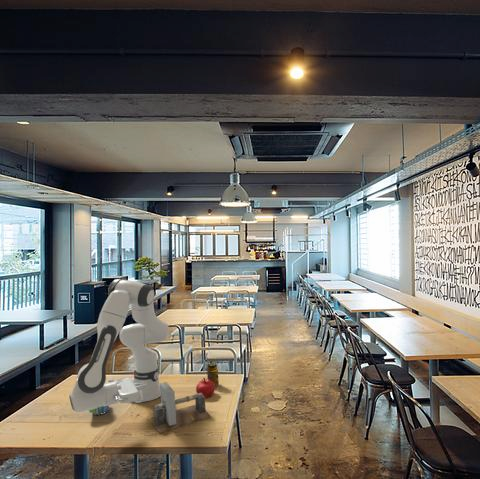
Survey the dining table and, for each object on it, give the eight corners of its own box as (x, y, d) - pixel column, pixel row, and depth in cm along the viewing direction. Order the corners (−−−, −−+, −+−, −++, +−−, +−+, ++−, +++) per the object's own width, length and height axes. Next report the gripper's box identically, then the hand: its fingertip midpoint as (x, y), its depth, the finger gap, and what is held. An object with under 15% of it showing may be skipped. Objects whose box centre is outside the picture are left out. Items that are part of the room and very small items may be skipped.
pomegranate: (217, 397, 184) (216, 379, 183) (198, 400, 181) (197, 382, 180) (213, 389, 193) (212, 372, 193) (194, 392, 190) (194, 375, 190)
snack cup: (99, 421, 165) (98, 399, 165) (80, 419, 168) (79, 398, 168) (119, 405, 180) (118, 385, 180) (101, 403, 183) (100, 384, 183)
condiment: (222, 385, 198) (220, 363, 198) (210, 390, 192) (209, 368, 192) (213, 381, 203) (212, 361, 203) (201, 386, 197) (200, 365, 197)
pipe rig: (158, 433, 152) (157, 412, 152) (150, 419, 164) (149, 399, 164) (210, 417, 163) (209, 397, 163) (199, 405, 176) (198, 387, 175)
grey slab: (169, 425, 155) (167, 393, 155) (161, 413, 166) (159, 383, 166) (176, 423, 156) (174, 391, 156) (167, 411, 168) (166, 381, 168)
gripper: (115, 394, 141) (150, 385, 147) (108, 378, 159) (140, 371, 165) (116, 410, 141) (151, 401, 147) (109, 392, 159) (140, 385, 165)
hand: (145, 385), depth 156 cm, fingers closed
